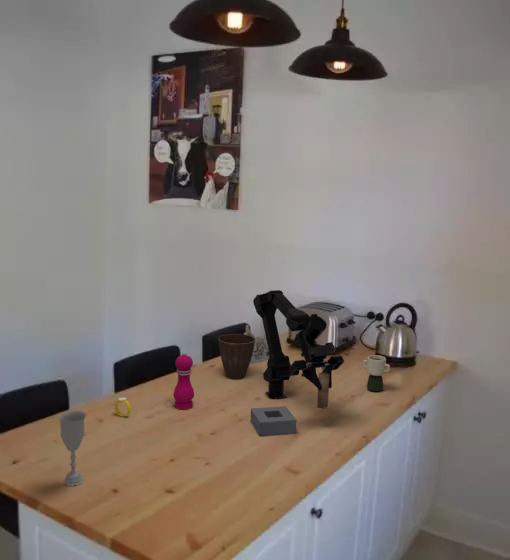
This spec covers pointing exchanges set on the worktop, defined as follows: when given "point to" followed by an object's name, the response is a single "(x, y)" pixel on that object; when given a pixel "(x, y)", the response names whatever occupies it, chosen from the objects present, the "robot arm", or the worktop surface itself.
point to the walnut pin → (323, 391)
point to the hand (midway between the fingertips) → (325, 388)
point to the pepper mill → (183, 383)
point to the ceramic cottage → (258, 348)
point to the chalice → (72, 441)
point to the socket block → (273, 421)
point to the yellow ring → (125, 403)
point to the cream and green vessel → (376, 371)
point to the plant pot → (236, 354)
